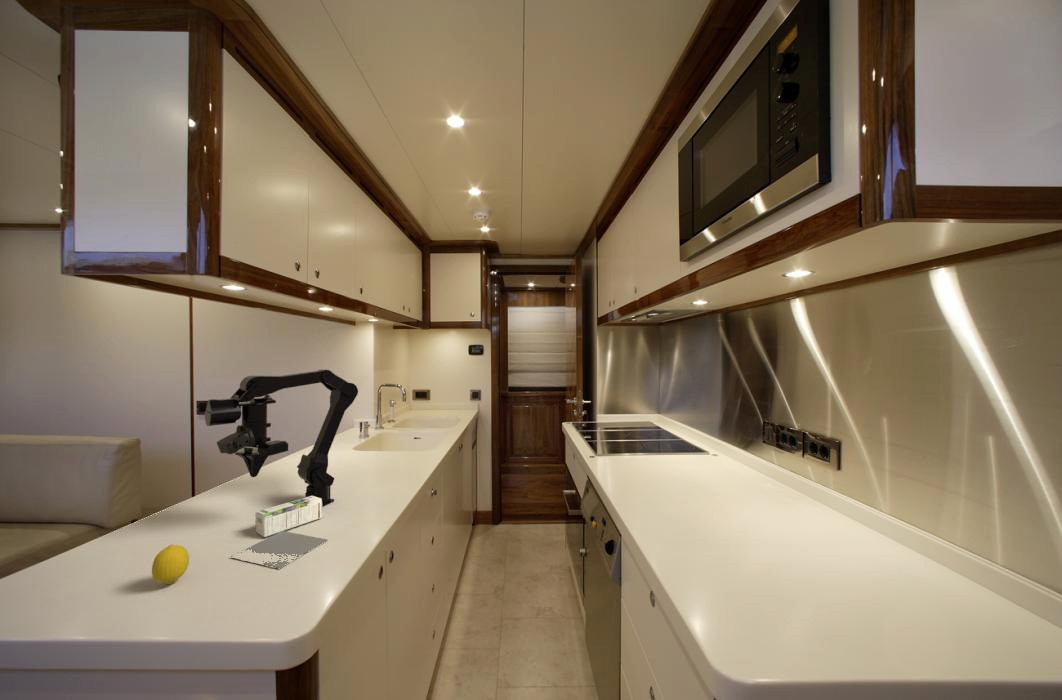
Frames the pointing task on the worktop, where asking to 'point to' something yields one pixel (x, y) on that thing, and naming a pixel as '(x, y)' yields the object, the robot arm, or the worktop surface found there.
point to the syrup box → (288, 515)
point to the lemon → (170, 564)
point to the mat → (286, 546)
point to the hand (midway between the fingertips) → (253, 476)
